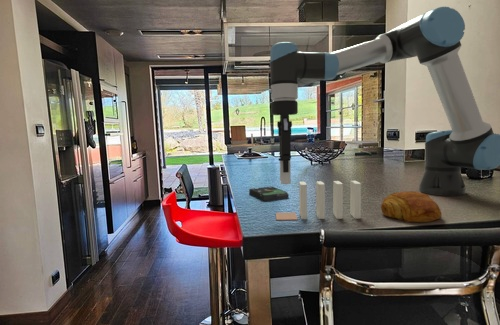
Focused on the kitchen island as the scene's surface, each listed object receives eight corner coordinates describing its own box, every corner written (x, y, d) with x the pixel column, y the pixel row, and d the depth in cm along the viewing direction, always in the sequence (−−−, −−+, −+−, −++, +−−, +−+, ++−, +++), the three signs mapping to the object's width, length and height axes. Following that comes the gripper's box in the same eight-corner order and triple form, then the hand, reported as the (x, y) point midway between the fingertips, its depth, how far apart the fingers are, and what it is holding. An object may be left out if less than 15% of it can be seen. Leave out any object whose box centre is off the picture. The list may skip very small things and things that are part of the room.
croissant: (374, 217, 96) (371, 192, 95) (423, 208, 96) (420, 183, 96) (399, 231, 81) (396, 202, 81) (456, 221, 82) (453, 191, 81)
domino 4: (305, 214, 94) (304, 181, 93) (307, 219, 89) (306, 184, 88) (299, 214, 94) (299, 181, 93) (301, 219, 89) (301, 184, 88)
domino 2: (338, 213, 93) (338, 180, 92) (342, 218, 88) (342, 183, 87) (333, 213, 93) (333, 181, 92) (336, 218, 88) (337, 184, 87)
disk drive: (248, 195, 126) (264, 202, 112) (248, 188, 125) (264, 194, 112) (271, 192, 130) (289, 199, 116) (271, 186, 129) (289, 191, 116)
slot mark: (295, 213, 95) (295, 212, 95) (297, 220, 88) (297, 219, 88) (275, 213, 95) (275, 212, 95) (276, 220, 88) (276, 219, 88)
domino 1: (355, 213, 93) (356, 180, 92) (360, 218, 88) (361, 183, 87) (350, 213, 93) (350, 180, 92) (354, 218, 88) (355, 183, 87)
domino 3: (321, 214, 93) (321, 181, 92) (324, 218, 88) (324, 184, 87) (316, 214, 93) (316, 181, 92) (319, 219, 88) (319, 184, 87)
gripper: (270, 103, 97) (271, 177, 99) (271, 97, 79) (272, 187, 82) (294, 103, 97) (295, 176, 99) (300, 97, 79) (301, 187, 81)
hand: (285, 181), depth 90 cm, fingers closed on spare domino, 5 cm apart
